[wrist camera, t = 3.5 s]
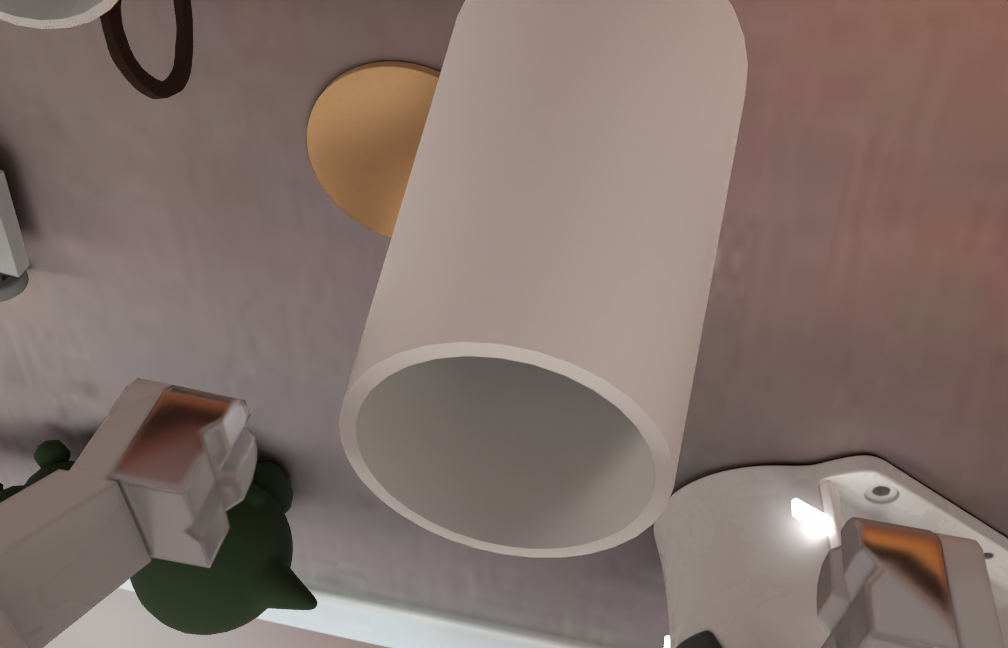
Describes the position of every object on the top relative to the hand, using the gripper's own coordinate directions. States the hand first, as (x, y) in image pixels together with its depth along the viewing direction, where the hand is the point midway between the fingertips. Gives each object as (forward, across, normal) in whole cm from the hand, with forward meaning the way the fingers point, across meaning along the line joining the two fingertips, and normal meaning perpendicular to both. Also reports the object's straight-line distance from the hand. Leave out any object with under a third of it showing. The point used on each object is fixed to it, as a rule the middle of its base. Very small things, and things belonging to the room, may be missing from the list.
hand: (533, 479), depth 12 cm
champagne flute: (+24, +1, 0) cm, 25 cm away
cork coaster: (+24, +9, +12) cm, 29 cm away
